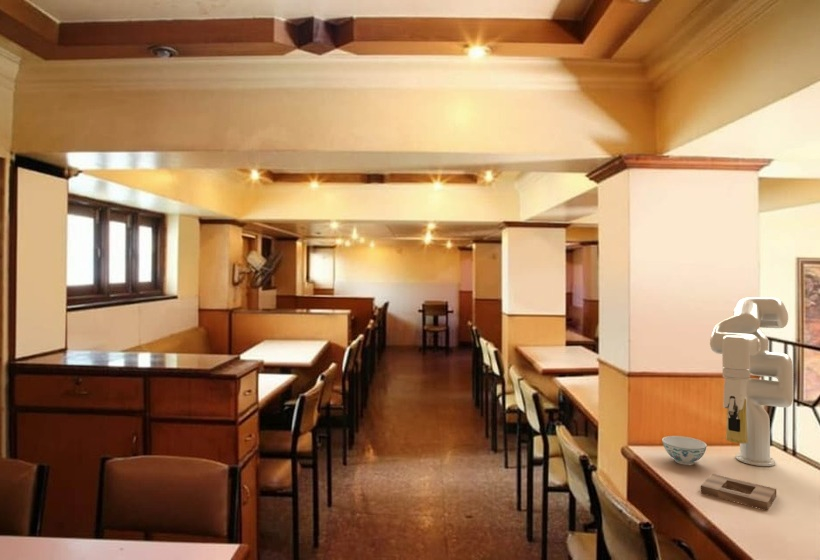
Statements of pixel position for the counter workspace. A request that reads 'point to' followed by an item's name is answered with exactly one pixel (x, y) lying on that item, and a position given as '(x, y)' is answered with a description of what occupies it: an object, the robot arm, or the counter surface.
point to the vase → (742, 435)
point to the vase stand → (757, 498)
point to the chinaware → (684, 449)
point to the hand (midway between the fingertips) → (736, 428)
